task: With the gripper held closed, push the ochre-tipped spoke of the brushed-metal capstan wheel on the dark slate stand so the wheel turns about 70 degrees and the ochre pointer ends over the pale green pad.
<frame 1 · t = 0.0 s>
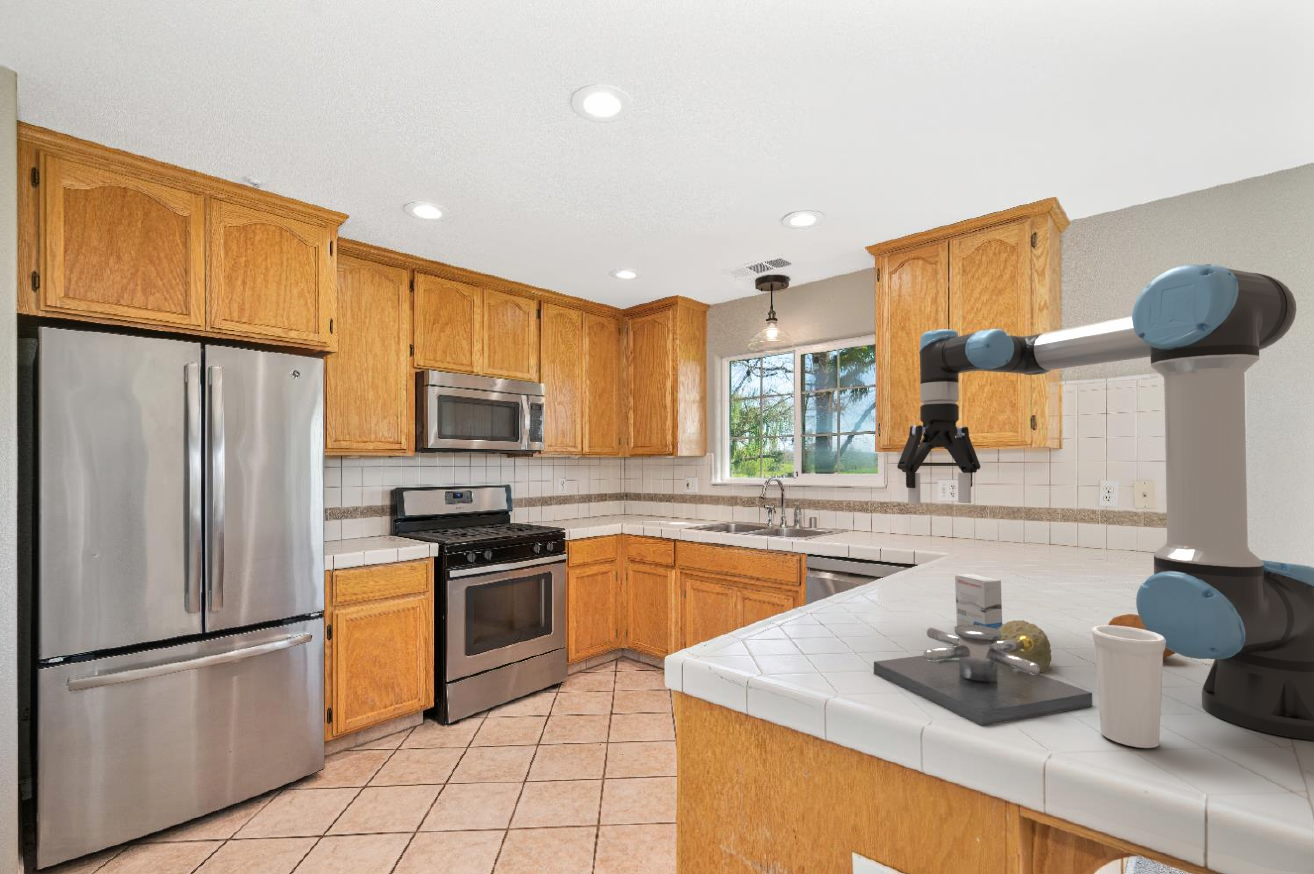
hand: (939, 503, 135), 28 cm above the countertop, fingers open, 13 cm apart
ink box: (978, 632, 139), on the countertop
cup: (1129, 741, 85), on the countertop
stand: (978, 689, 104), on the countertop
decorative object: (1022, 666, 116), on the countertop
capstan: (988, 651, 105), point 6 cm above the countertop, hinge at 0.0°
potato: (1144, 657, 122), on the countertop
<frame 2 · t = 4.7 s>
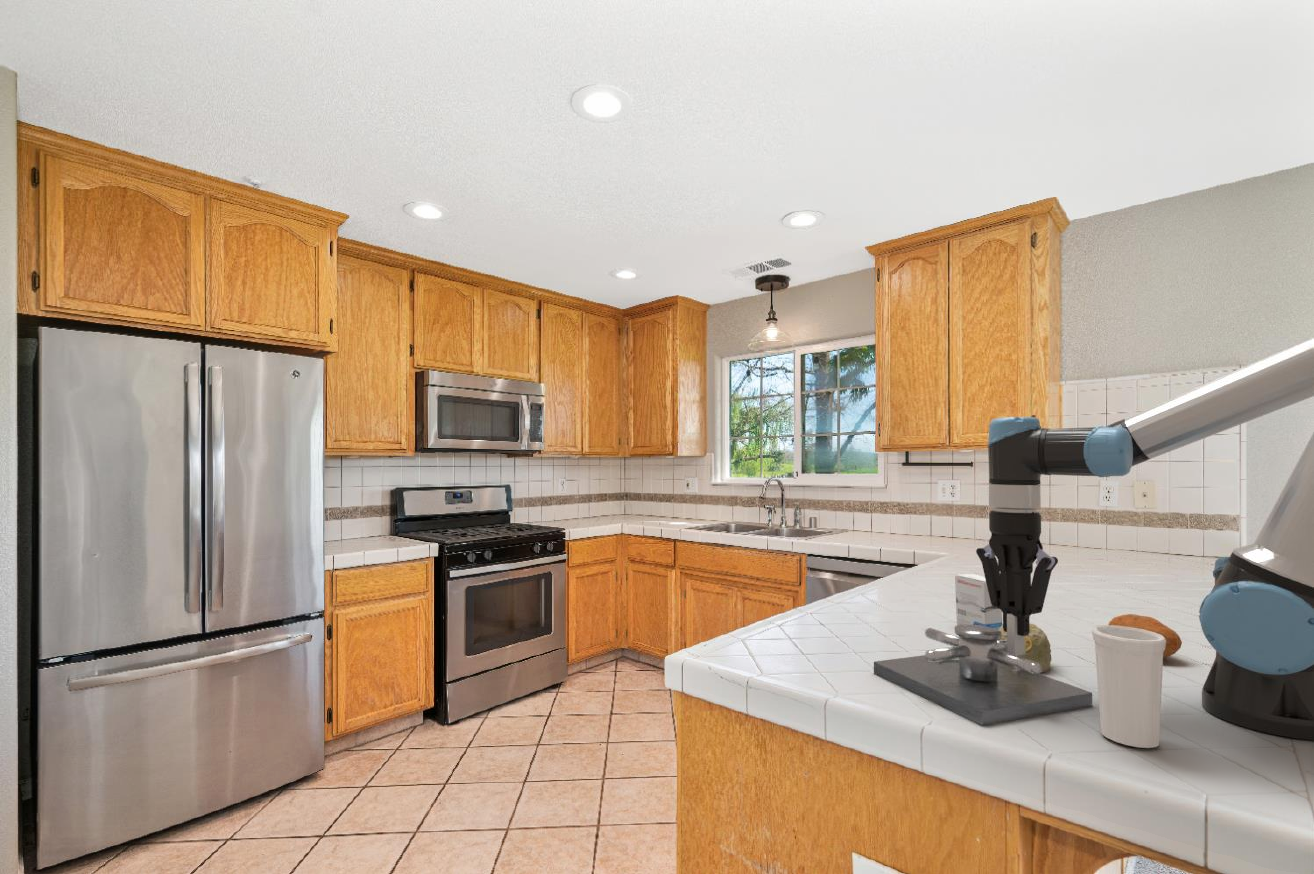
hand: (1016, 653, 105), 5 cm above the countertop, fingers closed
capstan: (988, 651, 105), point 6 cm above the countertop, hinge at 2.0°, touching gripper
everything else where it was.
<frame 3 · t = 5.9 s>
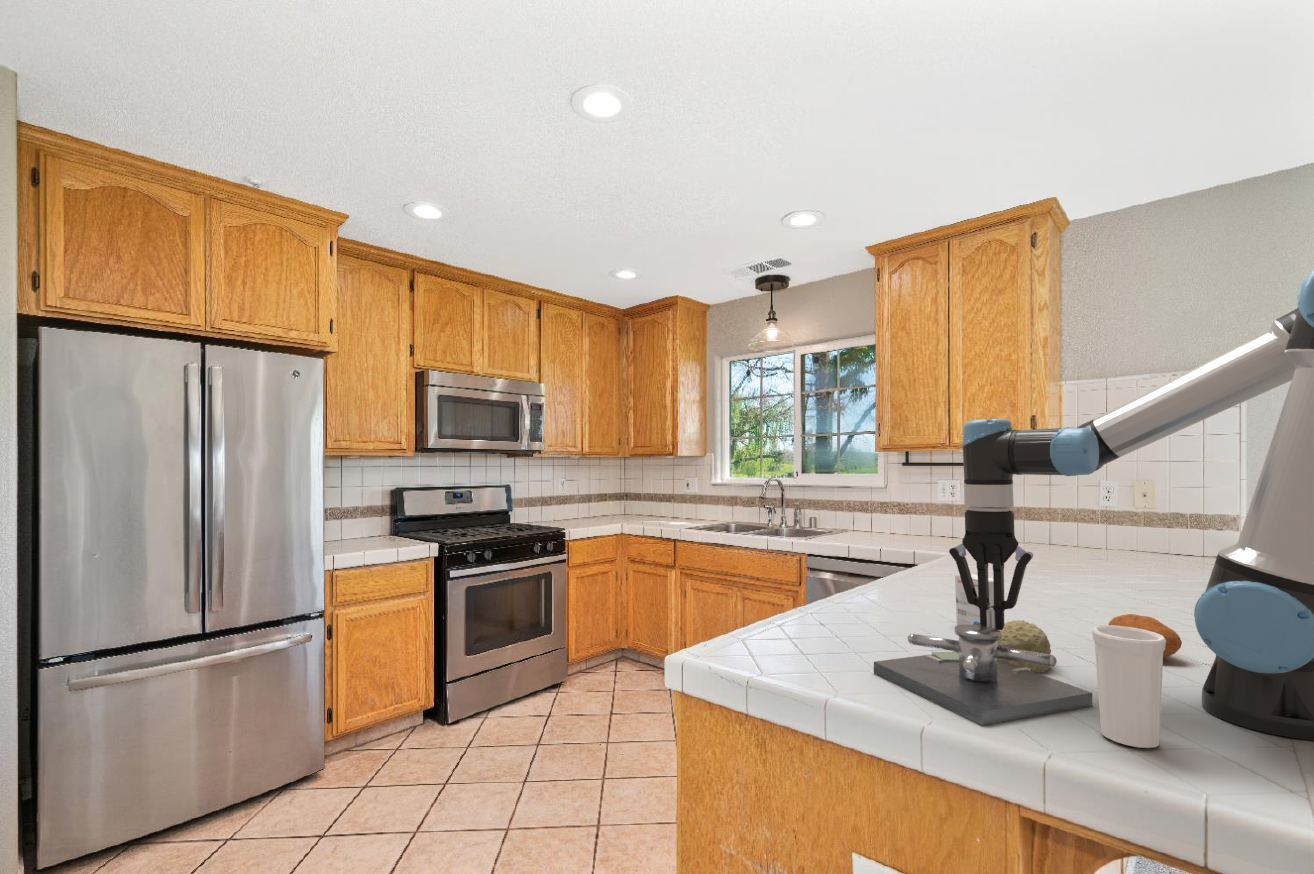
hand: (992, 647, 108), 5 cm above the countertop, fingers closed
capstan: (979, 649, 106), point 6 cm above the countertop, hinge at 36.7°, touching gripper
everything else where it was.
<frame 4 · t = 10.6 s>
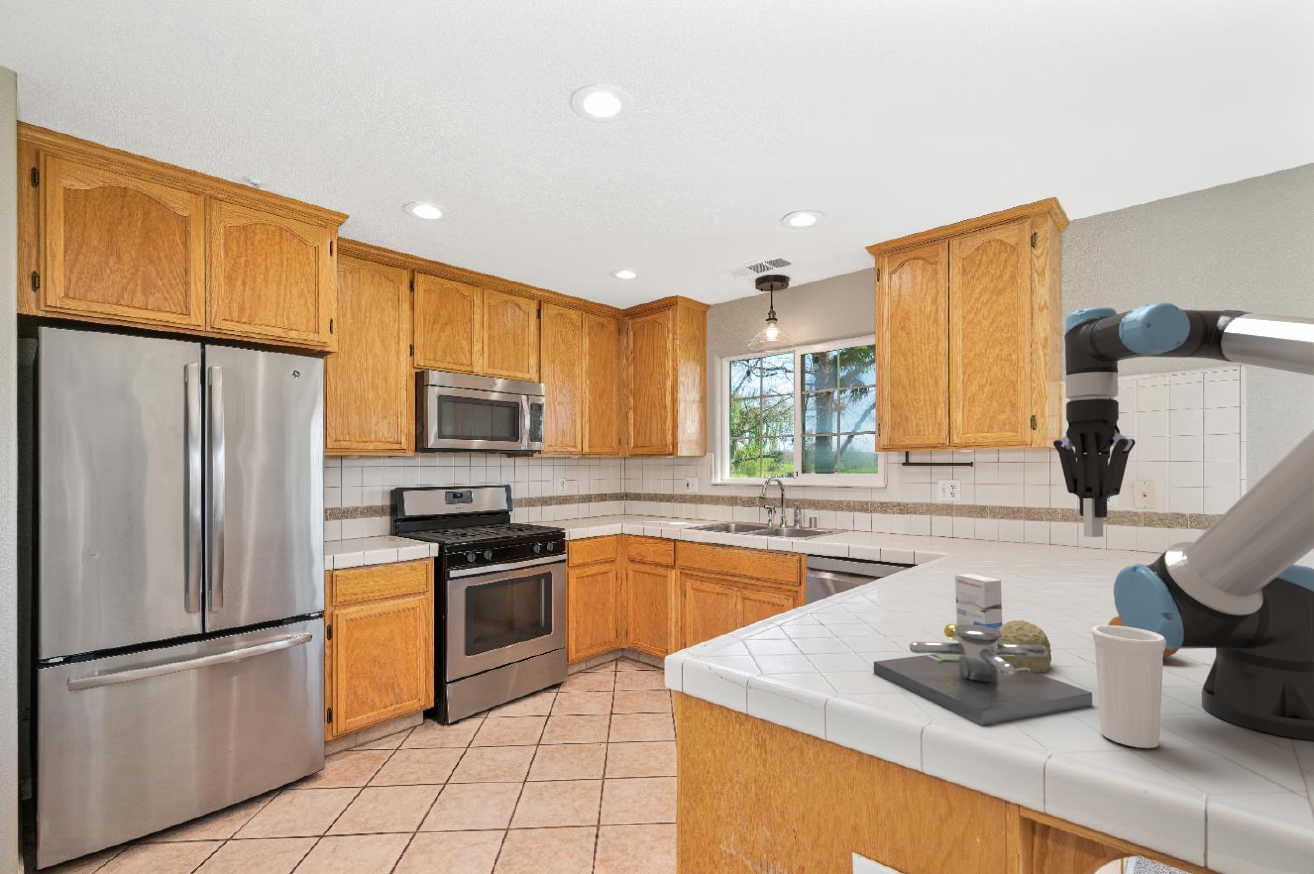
hand: (1093, 536, 109), 24 cm above the countertop, fingers closed
capstan: (971, 648, 106), point 6 cm above the countertop, hinge at 66.5°
everything else where it was.
at the end: capstan at +66° (first picture: +0°) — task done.
